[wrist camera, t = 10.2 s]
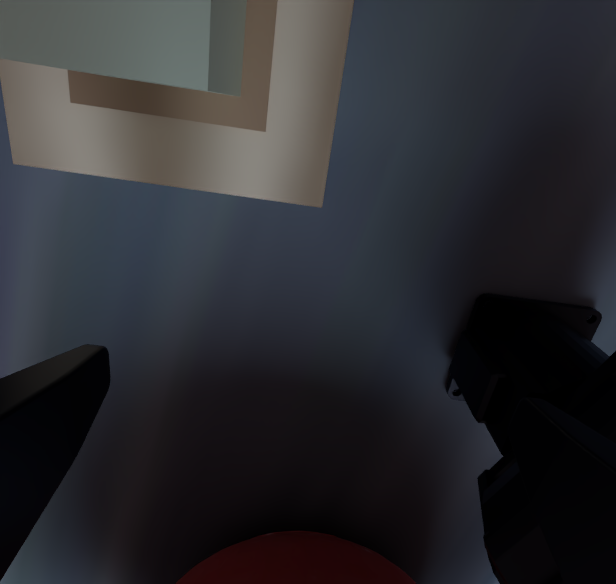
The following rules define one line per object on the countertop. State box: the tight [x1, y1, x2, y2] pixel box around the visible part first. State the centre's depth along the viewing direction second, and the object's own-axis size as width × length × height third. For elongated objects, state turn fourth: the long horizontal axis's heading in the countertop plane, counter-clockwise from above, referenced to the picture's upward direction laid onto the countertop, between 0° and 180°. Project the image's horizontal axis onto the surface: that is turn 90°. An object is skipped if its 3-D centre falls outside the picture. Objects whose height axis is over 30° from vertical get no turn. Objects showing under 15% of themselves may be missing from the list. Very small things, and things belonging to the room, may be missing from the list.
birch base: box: [0, 0, 354, 208], centre depth 15 cm, size 12×12×3 cm
